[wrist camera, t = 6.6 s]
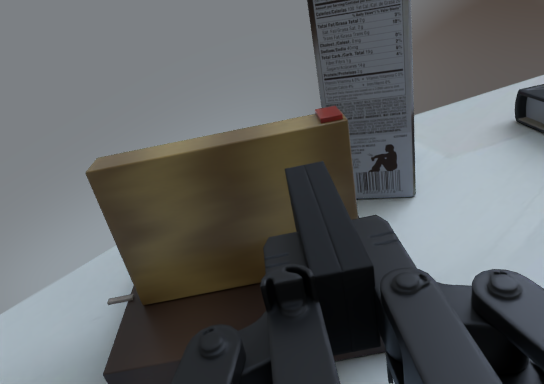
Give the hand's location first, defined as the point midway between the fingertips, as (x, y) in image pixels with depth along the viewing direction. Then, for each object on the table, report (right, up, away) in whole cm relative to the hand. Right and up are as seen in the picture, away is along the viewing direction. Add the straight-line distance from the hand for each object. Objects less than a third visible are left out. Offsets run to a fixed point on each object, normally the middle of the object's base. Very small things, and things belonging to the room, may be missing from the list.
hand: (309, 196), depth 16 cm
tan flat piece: (-3, -4, +7) cm, 8 cm away
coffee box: (+7, +2, +19) cm, 21 cm away
